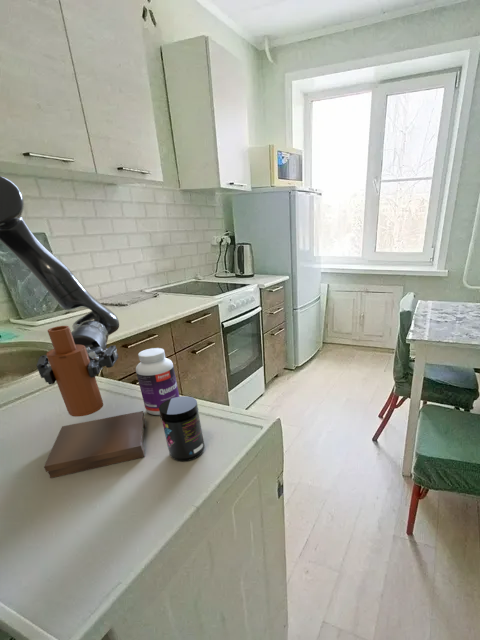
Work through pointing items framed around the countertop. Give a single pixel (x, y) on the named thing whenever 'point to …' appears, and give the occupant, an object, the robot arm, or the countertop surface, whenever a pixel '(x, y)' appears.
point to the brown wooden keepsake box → (97, 444)
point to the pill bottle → (156, 379)
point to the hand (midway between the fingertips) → (70, 375)
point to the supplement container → (182, 428)
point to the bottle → (73, 373)
